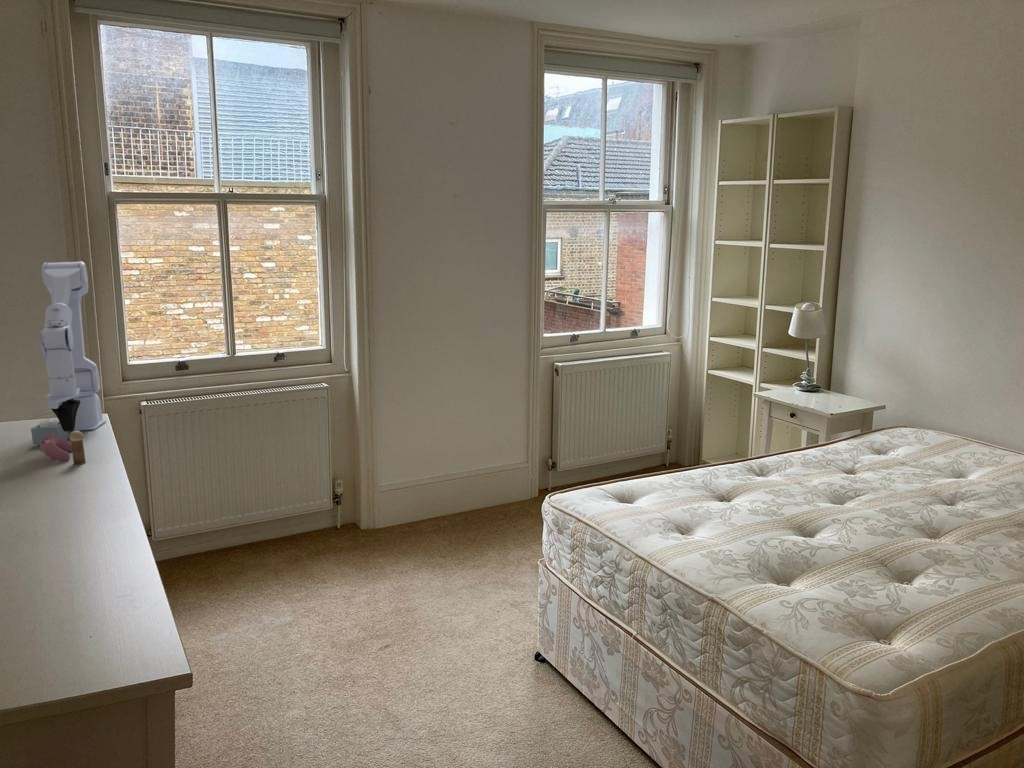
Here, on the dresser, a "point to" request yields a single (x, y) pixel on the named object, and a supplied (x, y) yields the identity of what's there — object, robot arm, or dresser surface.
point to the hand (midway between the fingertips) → (69, 430)
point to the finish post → (77, 447)
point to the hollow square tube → (42, 431)
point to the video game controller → (56, 447)
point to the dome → (48, 423)
